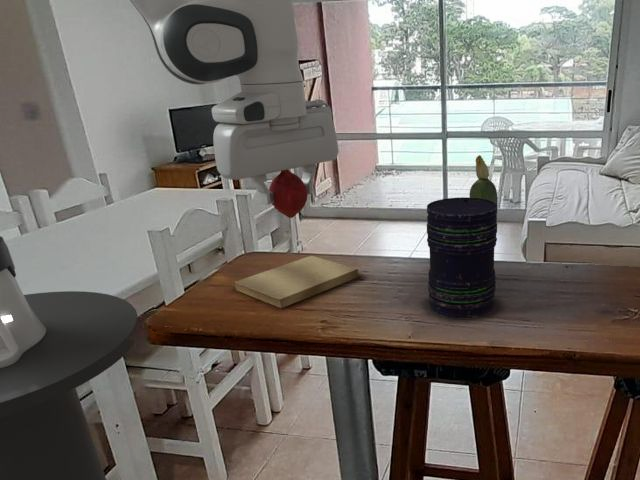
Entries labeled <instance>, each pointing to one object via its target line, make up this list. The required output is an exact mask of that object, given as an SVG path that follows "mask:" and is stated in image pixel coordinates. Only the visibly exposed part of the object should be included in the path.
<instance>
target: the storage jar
mask: <svg viewBox="0 0 640 480" xmlns="http://www.w3.org/2000/svg"><path fill="white" fill-rule="evenodd" d="M496 213H497V215H496ZM426 214H427V216H426V234H427V238H426V242H427V246H428V248H429V270H428V282H427V290H428V297H429V302H428V303H429V304H428V305H429V307H428V308H429V309H430V311H431V312H432V313H433V314H435V315H437V316H440V317H443V318H447V319H451V320H470V319H471V320H472V319H477V318H482V317H484V316H487V315H489V314H490V313H491V312H493V311H494V309H495V300H494V299H495V297H496V291H497V285H496V284H497V282H496V270H495V247H496V246H497V241H498V237H497V234H498V206H497V204H496V203H494V202H493V201H490V200H486V199H480V198H470V197H463V196H462V197H448V198H442V199H437V200H434V201H431V202H429V203H428V204H427V205H426Z"/></svg>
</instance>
